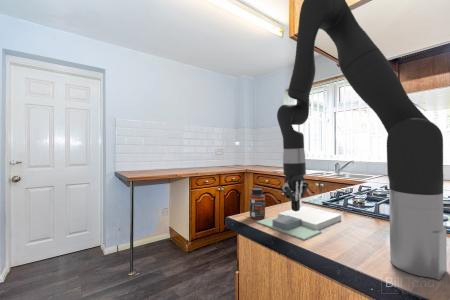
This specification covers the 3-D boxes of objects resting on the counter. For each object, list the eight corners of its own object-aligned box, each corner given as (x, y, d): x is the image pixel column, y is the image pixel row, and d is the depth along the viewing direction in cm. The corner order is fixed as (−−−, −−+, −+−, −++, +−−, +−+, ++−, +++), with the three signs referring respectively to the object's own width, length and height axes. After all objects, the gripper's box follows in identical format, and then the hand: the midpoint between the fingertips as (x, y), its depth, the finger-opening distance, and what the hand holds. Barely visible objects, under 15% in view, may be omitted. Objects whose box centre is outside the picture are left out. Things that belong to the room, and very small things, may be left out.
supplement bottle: (254, 220, 84) (253, 190, 84) (247, 216, 90) (246, 188, 90) (268, 218, 87) (267, 189, 86) (260, 214, 92) (259, 186, 92)
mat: (321, 232, 72) (321, 231, 72) (304, 240, 66) (304, 238, 66) (273, 217, 88) (273, 216, 88) (256, 222, 83) (256, 221, 83)
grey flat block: (301, 225, 78) (301, 219, 78) (286, 230, 73) (286, 224, 73) (287, 220, 83) (287, 215, 82) (272, 225, 78) (272, 219, 78)
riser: (341, 220, 83) (341, 214, 83) (316, 230, 73) (315, 224, 73) (303, 210, 96) (303, 205, 96) (278, 218, 86) (277, 213, 86)
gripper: (290, 163, 72) (292, 217, 73) (314, 160, 80) (316, 209, 80) (273, 162, 79) (274, 212, 79) (297, 160, 86) (298, 205, 86)
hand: (295, 210), depth 79 cm, fingers closed
